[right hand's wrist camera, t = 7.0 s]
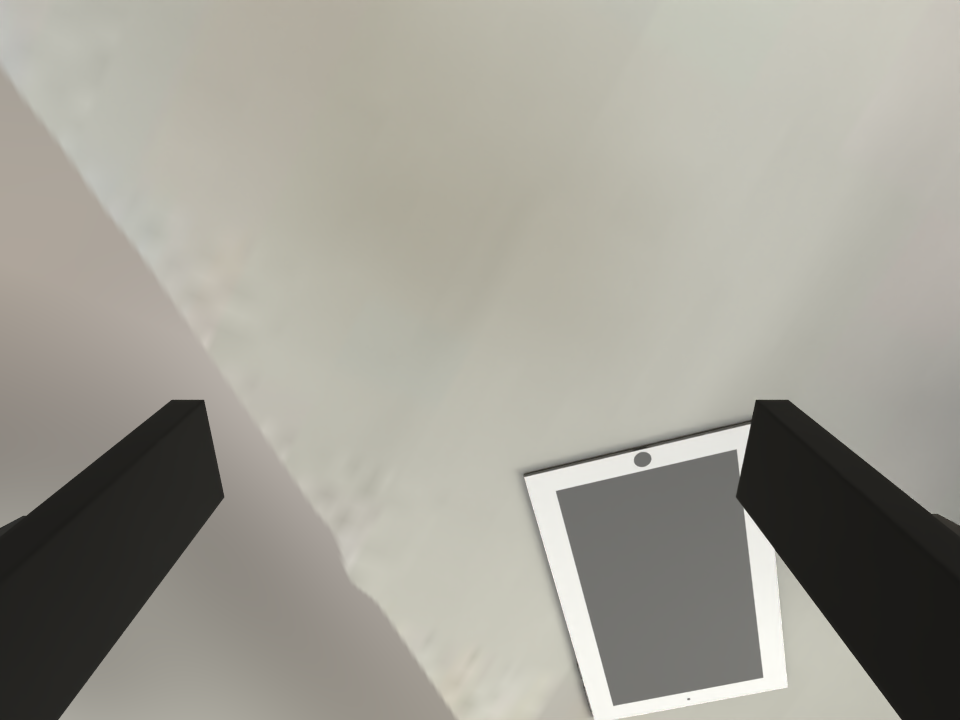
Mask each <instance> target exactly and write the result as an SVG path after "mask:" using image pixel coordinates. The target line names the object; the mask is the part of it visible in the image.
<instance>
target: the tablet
mask: <svg viewBox="0 0 960 720" xmlns="http://www.w3.org/2000/svg"><path fill="white" fill-rule="evenodd" d="M750 426H751V422H746V423H742V424H738V425H734V426H729V427H725V428H721V429H717V430H712V431H708V432H704V433H700V434H695V435H691V436H687V437H683V438H678V439H674V440H670V441H665V442H661V443H657V444H653V445H648V446H644V447H640V448H636V449H631V450H627V451H623V452H619V453H614V454H610V455H606V456H602V457H597V458H593V459H589V460H585V461H580V462H576V463H572V464H568V465H563V466H559V467H555V468H551V469H546V470H542V471H538V472H534V473H529V474H525V475H524V479H525V482H526V486H527V489H528V492H529V496H530V499H531V503H532V506H533V510H534V513H535V517H536V520H537V523H538V527H539V530H540V534H541V537H542V541H543V544H544V548H545V551H546V554H547V558H548V561H549V565H550V568H551V572H552V575H553V579H554V582H555V585H556V589H557V592H558V596H559V599H560V603H561V606H562V610H563V613H564V616H565V620H566V623H567V627H568V630H569V634H570V637H571V641H572V644H573V647H574V651H575V654H576V658H577V661H578V664H577V666H578V670H579V673H580V676H581V679H583V682H584V685H585V686H584V690H585V694H586V697H587V700H588V704H589V707H590V711H591V712H592V713H593V716H594V720H615V719H620V718H626V717H631V716H636V715H642V714H647V713H652V712H658V711H663V710H669V709H674V708H679V707H685V706H690V705H696V704H701V703H706V702H712V701H717V700H722V699H728V698H733V697H739V696H744V695H749V694H755V693H760V692H766V691H771V690H776V689H782V688H787V687H788V685H787V674H786V664H785V653H784V643H783V632H782V622H781V611H780V600H779V590H778V579H777V569H776V558H775V549H774V548H773V546H772V545H771V544H770V542H769V541H768V540H767V538H766V537H765V536H764V534H763V533H762V532H761V530H760V529H759V528H758V526H757V525H756V524H755V522H754V521H753V520H752V518H751V517H750V516H749V514H748V513H747V512H746V510H745V509H744V508H743V506H742V505H741V504H740V502H739V501H738V500H737V498H736V493H737V488H738V484H739V479H740V474H741V469H742V464H743V460H744V455H745V450H746V445H747V440H748V436H749V431H750Z"/></svg>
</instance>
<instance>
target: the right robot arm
mask: <svg viewBox="0 0 960 720" xmlns="http://www.w3.org/2000/svg"><path fill="white" fill-rule="evenodd" d="M223 498H224V493H223V488H222V484H221V479H220V474H219V469H218V464H217V460H216V455H215V450H214V445H213V440H212V436H211V431H210V426H209V421H208V416H207V412H206V407H205V402H204V400H171V401H170V402H169V403H167V404H166V405H165V406H164V407H162V408H161V409H160V410H159V411H157V412H156V413H155V414H154V415H152V416H151V417H150V418H149V419H147V420H146V421H145V422H144V423H142V424H141V425H140V426H138V427H137V428H136V429H135V430H133V431H132V432H131V433H130V434H128V435H127V436H126V437H125V438H124V439H122V440H121V441H120V442H118V443H117V444H116V445H115V446H113V447H112V448H111V449H110V450H108V451H107V452H106V453H105V454H103V455H102V456H101V457H100V458H98V459H97V460H96V461H95V462H93V463H92V464H91V465H90V466H88V467H87V468H86V469H85V470H83V471H82V472H81V473H80V474H78V475H77V476H76V477H74V478H73V479H72V480H71V481H69V482H68V483H67V484H66V485H64V486H63V487H62V488H61V489H59V490H58V491H57V492H56V493H54V494H53V495H52V496H51V497H49V498H48V499H47V500H46V501H44V502H43V503H42V504H41V505H39V506H38V507H37V508H36V509H34V510H33V511H32V512H31V513H29V514H28V515H27V516H22V517H20V518H18V519H17V520H14V521H13V522H11V523H9V524H7V525H5V526H3V527H1V528H0V720H58V719H59V718H60V717H61V715H62V714H63V713H64V711H65V710H66V709H67V707H68V706H69V705H70V703H71V702H72V701H73V699H74V698H75V697H76V695H77V694H78V693H79V691H80V690H81V689H82V687H83V686H84V685H85V683H86V682H87V681H88V679H89V678H90V676H91V675H92V674H93V672H94V671H95V670H96V668H97V667H98V666H99V664H100V663H101V662H102V660H103V659H104V658H105V656H106V655H107V654H108V652H109V651H110V650H111V648H112V647H113V646H114V644H115V643H116V642H117V640H118V639H119V638H120V636H121V635H122V634H123V632H124V631H125V630H126V628H127V627H128V626H129V624H130V623H131V622H132V620H133V619H134V618H135V616H136V615H137V613H138V612H139V611H140V609H141V608H142V607H143V605H144V604H145V603H146V601H147V600H148V599H149V597H150V596H151V595H152V593H153V592H154V591H155V589H156V588H157V587H158V585H159V584H160V583H161V581H162V580H163V579H164V577H165V576H166V575H167V573H168V572H169V571H170V569H171V568H172V567H173V565H174V564H175V563H176V561H177V560H178V559H179V557H180V556H181V554H182V553H183V552H184V550H185V549H186V548H187V546H188V545H189V544H190V542H191V541H192V540H193V538H194V537H195V536H196V534H197V533H198V532H199V530H200V529H201V528H202V526H203V525H204V524H205V522H206V521H207V520H208V518H209V517H210V516H211V514H212V513H213V512H214V510H215V509H216V508H217V506H218V505H219V504H220V502H221V501H222V499H223ZM736 498H737V500H738V501H739V502H740V504H741V505H742V506H743V508H744V509H745V510H746V512H747V513H748V514H749V516H750V517H751V518H752V520H753V521H754V522H755V524H756V525H757V526H758V528H759V529H760V530H761V532H762V533H763V534H764V536H765V537H766V538H767V540H768V541H769V542H770V544H771V545H772V546H773V548H774V549H775V550H776V552H777V553H778V555H779V556H780V557H781V559H782V560H783V561H784V563H785V564H786V565H787V567H788V568H789V569H790V571H791V572H792V573H793V575H794V576H795V577H796V579H797V580H798V581H799V583H800V584H801V585H802V587H803V588H804V589H805V591H806V592H807V593H808V595H809V596H810V597H811V599H812V600H813V601H814V603H815V604H816V605H817V607H818V608H819V609H820V611H821V612H822V613H823V615H824V616H825V618H826V619H827V620H828V622H829V623H830V624H831V626H832V627H833V628H834V630H835V631H836V632H837V634H838V635H839V636H840V638H841V639H842V640H843V642H844V643H845V644H846V646H847V647H848V648H849V650H850V651H851V652H852V654H853V655H854V656H855V658H856V659H857V660H858V662H859V663H860V664H861V666H862V667H863V668H864V670H865V671H866V672H867V674H868V675H869V676H870V678H871V679H872V681H873V682H874V683H875V685H876V686H877V687H878V689H879V690H880V691H881V693H882V694H883V695H884V697H885V698H886V699H887V701H888V702H889V703H890V705H891V706H892V707H893V709H894V710H895V711H896V713H897V714H898V715H899V717H900V718H901V719H902V720H960V526H959V525H957V524H956V523H954V522H952V521H950V520H948V519H946V518H944V517H942V516H940V515H938V514H931V513H929V512H928V511H927V510H926V509H924V508H923V507H922V506H921V505H919V504H918V503H917V502H916V501H914V500H913V499H912V498H911V497H909V496H908V495H907V494H906V493H904V492H903V491H902V490H901V489H899V488H898V487H897V486H896V485H894V484H893V483H892V482H891V481H889V480H888V479H887V478H886V477H884V476H883V475H882V474H881V473H879V472H878V471H877V470H875V469H874V468H873V467H872V466H870V465H869V464H868V463H867V462H865V461H864V460H863V459H862V458H860V457H859V456H858V455H857V454H855V453H854V452H853V451H852V450H850V449H849V448H848V447H847V446H845V445H844V444H843V443H842V442H840V441H839V440H838V439H837V438H835V437H834V436H833V435H832V434H830V433H829V432H828V431H827V430H825V429H824V428H823V427H822V426H820V425H819V424H818V423H816V422H815V421H814V420H813V419H811V418H810V417H809V416H808V415H806V414H805V413H804V412H803V411H801V410H800V409H799V408H798V407H796V406H795V405H794V404H793V403H791V402H790V401H789V400H756V402H755V407H754V412H753V416H752V421H751V426H750V431H749V436H748V440H747V445H746V450H745V455H744V460H743V464H742V469H741V474H740V479H739V484H738V488H737V493H736Z"/></svg>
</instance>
